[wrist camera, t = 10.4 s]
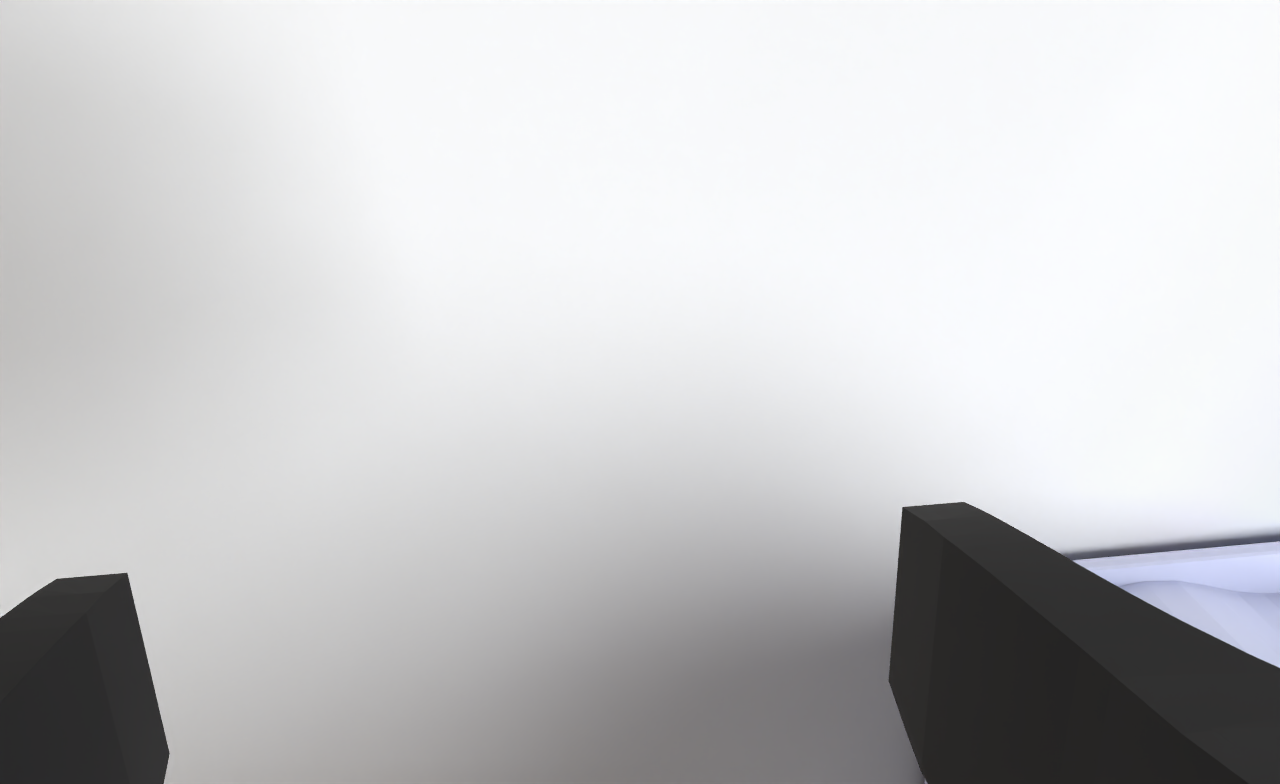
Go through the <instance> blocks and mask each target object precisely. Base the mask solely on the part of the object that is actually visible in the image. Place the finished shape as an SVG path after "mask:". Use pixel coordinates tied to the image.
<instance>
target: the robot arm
mask: <svg viewBox="0 0 1280 784" xmlns="http://www.w3.org/2000/svg"><path fill="white" fill-rule="evenodd" d="M889 683H890V686H891V689H892V692H893V695H894V697H895V700H896V703H897V706H898V709H899V712H900V715H901V718H902V721H903V724H904V726H905V729H906V732H907V735H908V737H909V740H910V743H911V745H912V748H913V751H914V753H915V756H916V759H917V761H918V764H919V767H920V769H921V772H922V774H923V776H924V778H925V782H924V784H1280V541H1278V542H1267V543H1256V544H1245V545H1234V546H1224V547H1213V548H1202V549H1191V550H1180V551H1169V552H1158V553H1147V554H1136V555H1125V556H1114V557H1103V558H1092V559H1081V560H1070V559H1068V558H1067V557H1065V556H1063V555H1061V554H1060V553H1058V552H1056V551H1054V550H1053V549H1051V548H1049V547H1047V546H1046V545H1044V544H1042V543H1040V542H1039V541H1037V540H1035V539H1033V538H1032V537H1030V536H1028V535H1026V534H1025V533H1023V532H1021V531H1019V530H1017V529H1016V528H1014V527H1012V526H1010V525H1008V524H1007V523H1005V522H1003V521H1001V520H999V519H997V518H996V517H994V516H992V515H990V514H988V513H986V512H984V511H982V510H980V509H978V508H976V507H974V506H971V505H969V504H967V503H965V502H958V503H946V504H934V505H922V506H911V507H903V508H902V521H901V533H900V546H899V558H898V571H897V583H896V596H895V608H894V621H893V633H892V646H891V658H890V671H889ZM168 758H169V749H168V745H167V741H166V737H165V732H164V728H163V724H162V720H161V715H160V711H159V707H158V702H157V698H156V694H155V690H154V685H153V681H152V677H151V673H150V668H149V664H148V660H147V655H146V651H145V647H144V643H143V638H142V634H141V630H140V625H139V621H138V617H137V613H136V608H135V604H134V600H133V596H132V591H131V587H130V583H129V578H128V574H127V573H121V574H109V575H97V576H85V577H74V578H62V579H56V580H54V581H53V582H51V583H50V584H48V585H46V586H45V587H43V588H42V589H40V590H38V591H37V592H36V593H34V594H33V595H31V596H30V597H28V598H27V599H26V600H24V601H23V602H21V603H20V604H19V605H17V606H16V607H15V608H13V609H12V610H11V611H9V612H8V613H6V614H5V615H4V616H2V617H1V618H0V784H164V779H165V774H166V769H167V763H168Z"/></svg>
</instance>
